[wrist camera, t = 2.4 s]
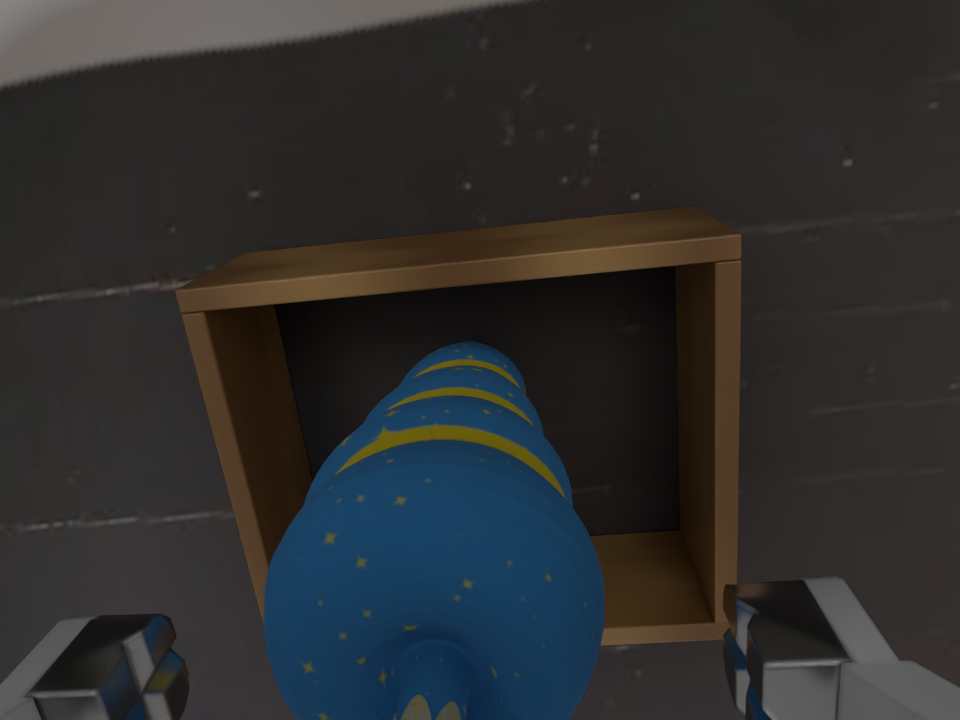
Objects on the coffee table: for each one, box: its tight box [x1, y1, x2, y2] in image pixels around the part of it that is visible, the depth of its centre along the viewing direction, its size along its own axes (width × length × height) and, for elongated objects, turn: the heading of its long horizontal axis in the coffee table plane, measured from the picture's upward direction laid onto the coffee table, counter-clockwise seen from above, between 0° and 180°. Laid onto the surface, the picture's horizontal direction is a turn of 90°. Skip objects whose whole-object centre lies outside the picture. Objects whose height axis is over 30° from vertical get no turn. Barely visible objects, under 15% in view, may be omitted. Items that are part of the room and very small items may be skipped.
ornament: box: [264, 340, 605, 720], centre depth 14 cm, size 5×5×15 cm
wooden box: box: [175, 207, 742, 645], centre depth 20 cm, size 13×11×4 cm
